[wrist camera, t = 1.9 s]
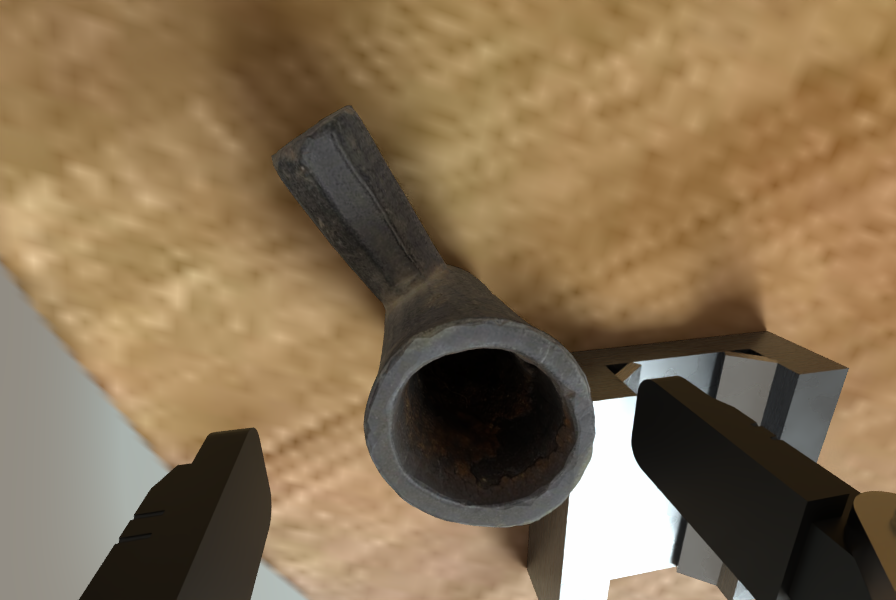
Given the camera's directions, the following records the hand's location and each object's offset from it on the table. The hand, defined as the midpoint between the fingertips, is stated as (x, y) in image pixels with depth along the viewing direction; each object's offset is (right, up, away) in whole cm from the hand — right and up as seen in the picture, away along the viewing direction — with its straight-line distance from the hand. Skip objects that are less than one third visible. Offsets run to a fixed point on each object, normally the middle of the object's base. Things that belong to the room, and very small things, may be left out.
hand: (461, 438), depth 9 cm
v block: (+10, -6, +15) cm, 19 cm away
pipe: (-2, +4, +9) cm, 10 cm away
